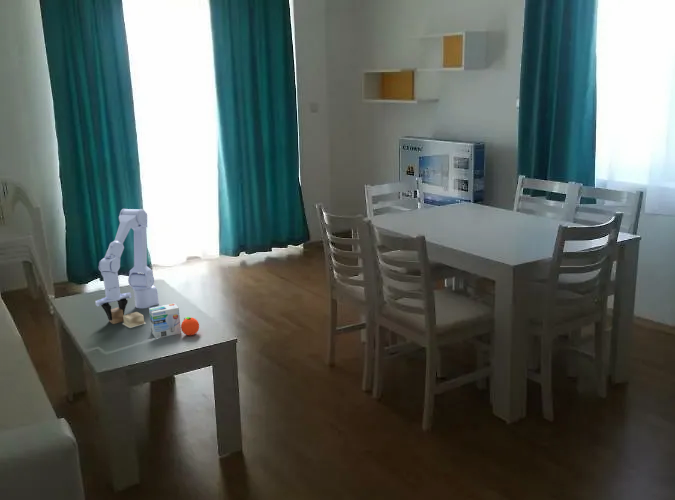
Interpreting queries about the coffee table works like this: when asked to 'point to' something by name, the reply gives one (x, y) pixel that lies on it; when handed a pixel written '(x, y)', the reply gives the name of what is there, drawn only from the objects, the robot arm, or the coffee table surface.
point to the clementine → (190, 326)
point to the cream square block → (133, 319)
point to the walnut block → (116, 315)
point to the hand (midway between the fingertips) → (116, 318)
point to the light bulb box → (165, 320)
